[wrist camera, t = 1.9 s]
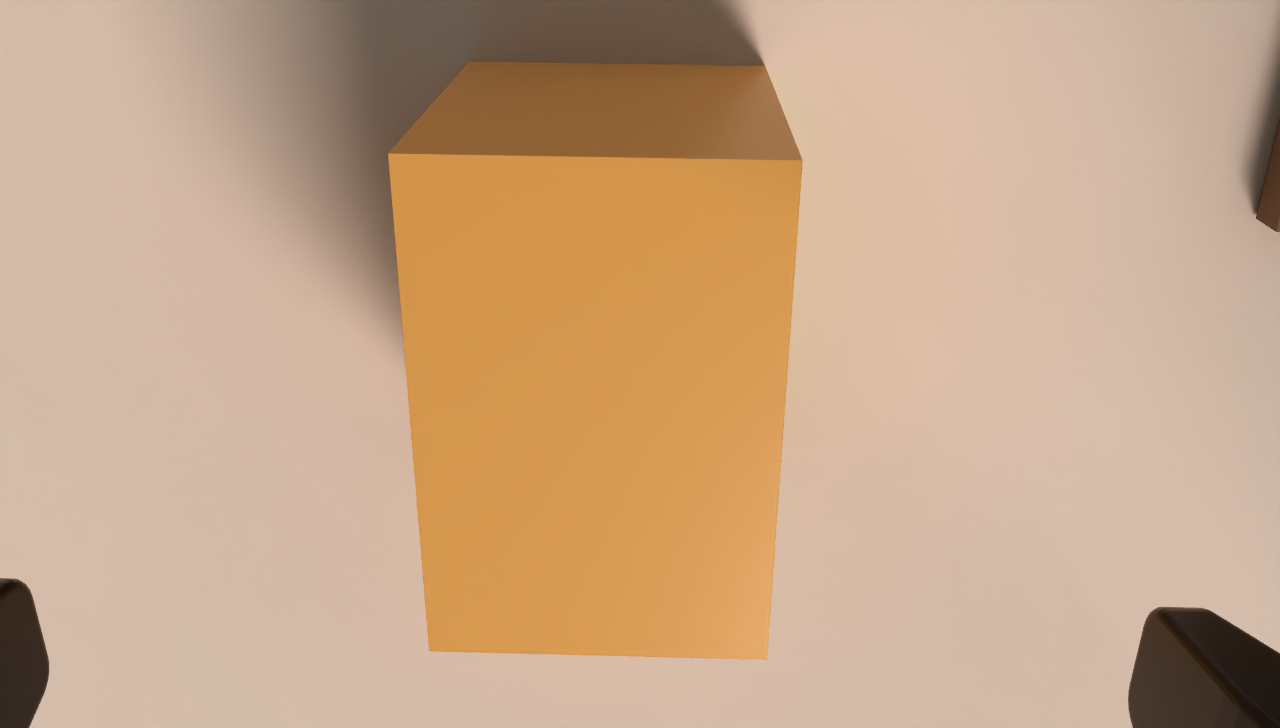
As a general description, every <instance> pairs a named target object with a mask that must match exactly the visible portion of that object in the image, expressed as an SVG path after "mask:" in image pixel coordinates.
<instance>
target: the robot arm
mask: <svg viewBox="0 0 1280 728" xmlns="http://www.w3.org/2000/svg"><path fill="white" fill-rule="evenodd" d="M48 676H49V660H48V655H47V651H46V647H45V643H44V639H43V635H42V631H41V627H40V624H39V620H38V616H37V612H36V608H35V604H34V600H33V597H32V594H31V591H30V589H29V588H28V587H27V585H26V584H25V583H23V582H22V581H20V580H18V579H7V578H0V728H29V727H30V725H31V722H32V720H33V718H34V715H35V713H36V711H37V709H38V706H39V704H40V702H41V699H42V697H43V695H44V692H45V689H46V686H47V682H48ZM1128 705H1129V713H1130V719H1131V723H1132V726H1133V728H1280V653H1278V652H1277V651H1275V650H1273V649H1272V648H1270V647H1268V646H1267V645H1265V644H1264V643H1262V642H1260V641H1259V640H1257V639H1256V638H1254V637H1252V636H1251V635H1249V634H1247V633H1246V632H1244V631H1243V630H1241V629H1239V628H1238V627H1236V626H1234V625H1233V624H1231V623H1230V622H1228V621H1226V620H1225V619H1223V618H1222V617H1220V616H1218V615H1217V614H1215V613H1213V612H1212V611H1210V610H1207V609H1203V608H1184V607H1158V608H1156V609H1155V610H1153V611H1151V612H1150V614H1149V615H1148V617H1147V619H1146V621H1145V624H1144V627H1143V632H1142V636H1141V640H1140V644H1139V648H1138V653H1137V657H1136V661H1135V665H1134V669H1133V674H1132V678H1131V682H1130V687H1129V695H1128Z"/></svg>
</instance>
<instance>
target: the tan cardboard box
mask: <svg viewBox="0 0 1280 728" xmlns="http://www.w3.org/2000/svg"><path fill="white" fill-rule="evenodd" d="M388 159H389V172H390V184H391V196H392V208H393V220H394V232H395V244H396V256H397V268H398V280H399V292H400V304H401V316H402V328H403V340H404V352H405V364H406V377H407V389H408V401H409V413H410V425H411V437H412V449H413V461H414V473H415V485H416V497H417V509H418V521H419V533H420V545H421V557H422V569H423V582H424V594H425V606H426V618H427V630H428V642H429V651H443V652H483V653H524V654H564V655H604V656H645V657H685V658H725V659H766V660H767V652H768V638H769V624H770V610H771V596H772V582H773V568H774V554H775V540H776V526H777V512H778V497H779V483H780V469H781V455H782V441H783V427H784V413H785V399H786V385H787V371H788V357H789V343H790V329H791V315H792V301H793V287H794V273H795V259H796V245H797V231H798V217H799V203H800V189H801V175H802V161H803V160H802V158H801V155H800V153H799V150H798V148H797V145H796V143H795V140H794V138H793V135H792V133H791V130H790V128H789V125H788V123H787V120H786V118H785V115H784V113H783V110H782V107H781V105H780V102H779V100H778V97H777V95H776V92H775V90H774V87H773V85H772V82H771V80H770V77H769V75H768V72H767V70H766V67H765V66H750V65H685V64H620V63H556V62H491V61H469V62H468V63H467V64H466V65H465V67H464V68H463V69H462V70H461V71H460V72H459V73H458V74H457V76H456V77H455V78H454V79H453V80H452V81H451V82H450V84H449V85H448V86H447V87H446V88H445V89H444V90H443V92H442V93H441V94H440V95H439V96H438V97H437V98H436V100H435V101H434V102H433V103H432V104H431V105H430V106H429V107H428V109H427V110H426V111H425V112H424V113H423V114H422V115H421V117H420V118H419V119H418V120H417V121H416V122H415V123H414V125H413V126H412V127H411V128H410V129H409V130H408V131H407V132H406V134H405V135H404V136H403V137H402V138H401V139H400V140H399V142H398V143H397V144H396V145H395V146H394V147H393V148H392V150H391V151H390V152H389V153H388Z"/></svg>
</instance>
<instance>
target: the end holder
mask: <svg viewBox="0 0 1280 728" xmlns="http://www.w3.org/2000/svg"><path fill="white" fill-rule="evenodd" d="M1256 219H1258V220H1259V221H1261V222H1262V223H1264V224H1265V225H1267V226H1268V227H1270V228H1271V229H1273V230H1274V231H1276V232H1280V122H1279V126H1278V130H1277V135H1276V139H1275V143H1274V147H1273V151H1272V155H1271V159H1270V163H1269V167H1268V171H1267V175H1266V179H1265V183H1264V188H1263V192H1262V196H1261V200H1260V204H1259V208H1258V212H1257V216H1256Z"/></svg>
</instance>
